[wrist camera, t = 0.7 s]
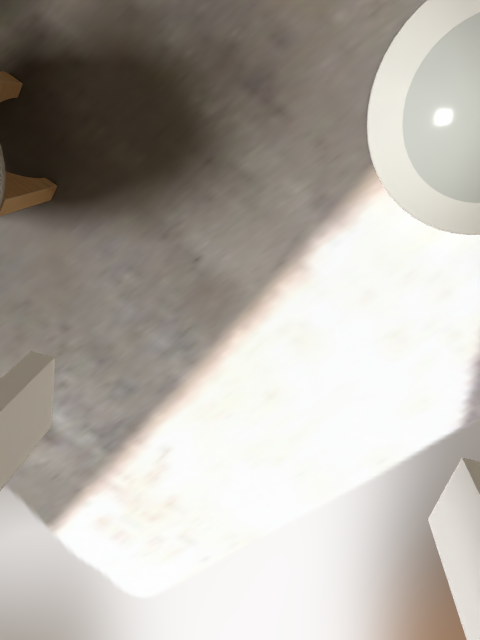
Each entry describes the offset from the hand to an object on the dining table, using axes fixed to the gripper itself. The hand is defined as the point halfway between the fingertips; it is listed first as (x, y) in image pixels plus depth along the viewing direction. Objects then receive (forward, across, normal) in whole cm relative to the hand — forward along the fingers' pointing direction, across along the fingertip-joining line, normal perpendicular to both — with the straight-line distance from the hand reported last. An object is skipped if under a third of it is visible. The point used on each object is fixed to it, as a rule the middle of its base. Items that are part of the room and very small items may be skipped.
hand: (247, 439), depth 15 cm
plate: (+27, +13, +13) cm, 33 cm away
